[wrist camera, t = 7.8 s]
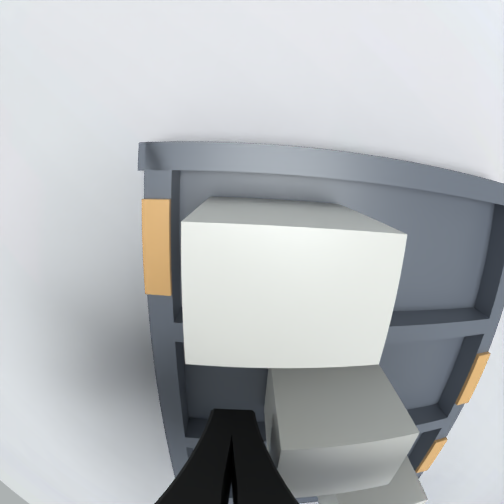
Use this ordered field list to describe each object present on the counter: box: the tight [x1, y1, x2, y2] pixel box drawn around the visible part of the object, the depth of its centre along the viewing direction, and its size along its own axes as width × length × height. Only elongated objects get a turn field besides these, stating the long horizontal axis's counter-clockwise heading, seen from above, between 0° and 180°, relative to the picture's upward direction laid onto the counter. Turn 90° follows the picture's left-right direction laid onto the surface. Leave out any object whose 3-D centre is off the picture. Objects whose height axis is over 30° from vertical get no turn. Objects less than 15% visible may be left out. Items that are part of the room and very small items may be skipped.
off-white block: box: [264, 364, 420, 498], centre depth 9 cm, size 3×4×4 cm
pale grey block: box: [317, 456, 428, 504], centre depth 11 cm, size 3×4×4 cm
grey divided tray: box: [138, 142, 504, 504], centre depth 11 cm, size 17×14×3 cm
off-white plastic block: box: [181, 197, 407, 368], centre depth 8 cm, size 3×4×4 cm
